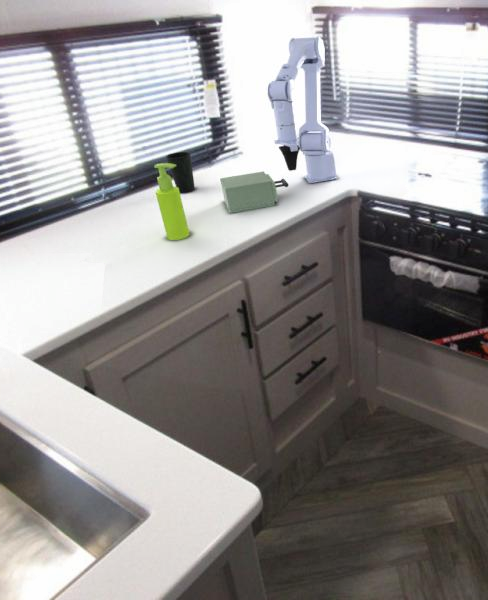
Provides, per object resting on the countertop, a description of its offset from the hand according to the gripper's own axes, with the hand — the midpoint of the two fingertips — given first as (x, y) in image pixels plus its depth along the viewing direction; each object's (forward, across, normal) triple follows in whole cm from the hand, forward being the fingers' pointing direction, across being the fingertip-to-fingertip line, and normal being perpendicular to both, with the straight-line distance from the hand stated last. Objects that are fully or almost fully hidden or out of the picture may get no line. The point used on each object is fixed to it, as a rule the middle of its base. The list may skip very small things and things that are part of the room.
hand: (292, 169), depth 174 cm
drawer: (+9, -4, -10) cm, 14 cm away
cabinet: (+9, -4, -14) cm, 17 cm away
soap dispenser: (+10, +13, -36) cm, 39 cm away
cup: (+10, -29, -31) cm, 44 cm away
